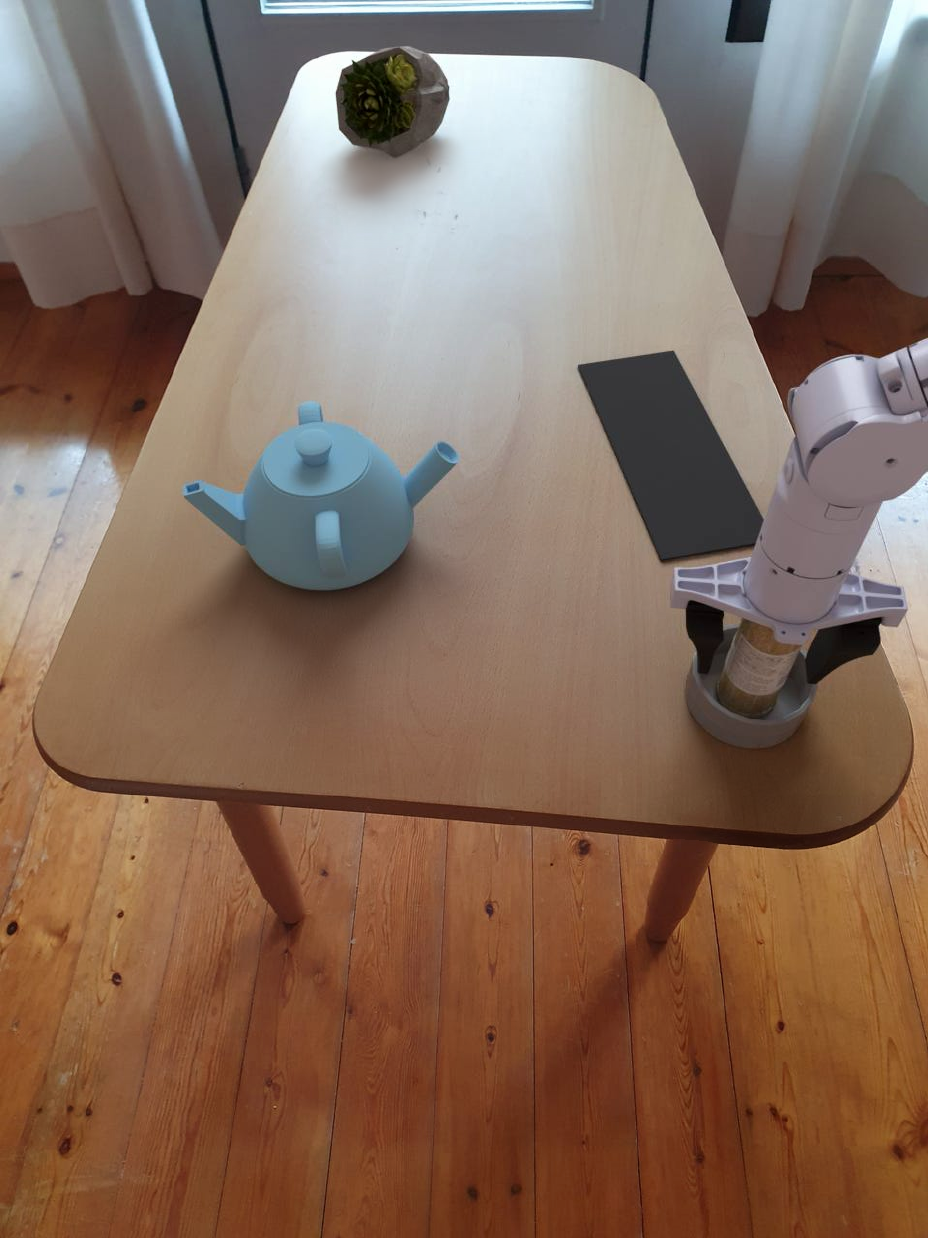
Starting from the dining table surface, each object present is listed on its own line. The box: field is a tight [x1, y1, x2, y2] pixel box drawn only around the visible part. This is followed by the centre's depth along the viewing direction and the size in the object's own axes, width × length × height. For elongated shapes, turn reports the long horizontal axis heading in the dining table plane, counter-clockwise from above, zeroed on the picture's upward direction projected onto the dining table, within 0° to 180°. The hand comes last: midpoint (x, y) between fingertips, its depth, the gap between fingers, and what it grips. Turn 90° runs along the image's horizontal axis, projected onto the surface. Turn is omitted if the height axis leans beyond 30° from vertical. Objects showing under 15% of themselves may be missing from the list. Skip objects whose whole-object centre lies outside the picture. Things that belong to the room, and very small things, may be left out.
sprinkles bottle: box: [716, 617, 803, 718], centre depth 65 cm, size 5×5×13 cm
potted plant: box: [334, 45, 451, 159], centre depth 116 cm, size 12×13×15 cm
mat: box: [577, 350, 764, 562], centre depth 87 cm, size 26×10×1 cm, turn 11°
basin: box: [684, 622, 819, 750], centre depth 70 cm, size 9×9×4 cm
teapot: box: [181, 400, 460, 591], centre depth 77 cm, size 15×17×11 cm
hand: (756, 667), depth 68 cm, fingers open, 7 cm apart
